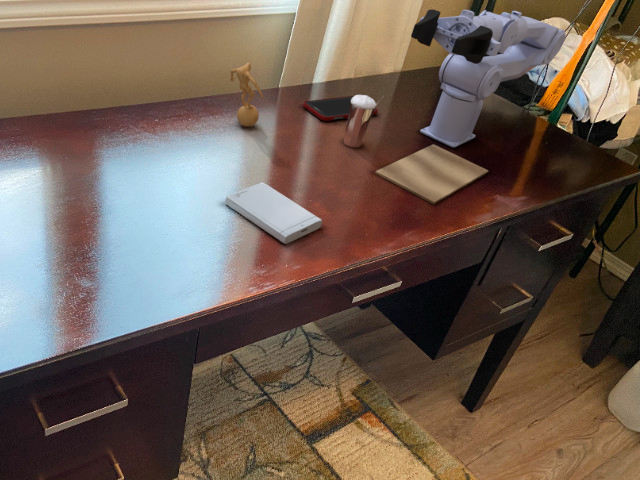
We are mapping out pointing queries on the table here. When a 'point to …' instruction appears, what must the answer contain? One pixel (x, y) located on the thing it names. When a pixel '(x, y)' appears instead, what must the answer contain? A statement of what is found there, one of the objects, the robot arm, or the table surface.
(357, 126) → the milkshake
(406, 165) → the desk mat
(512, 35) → the robot arm
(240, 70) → the figurine
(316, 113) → the cell phone
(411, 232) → the table surface
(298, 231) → the hard drive
